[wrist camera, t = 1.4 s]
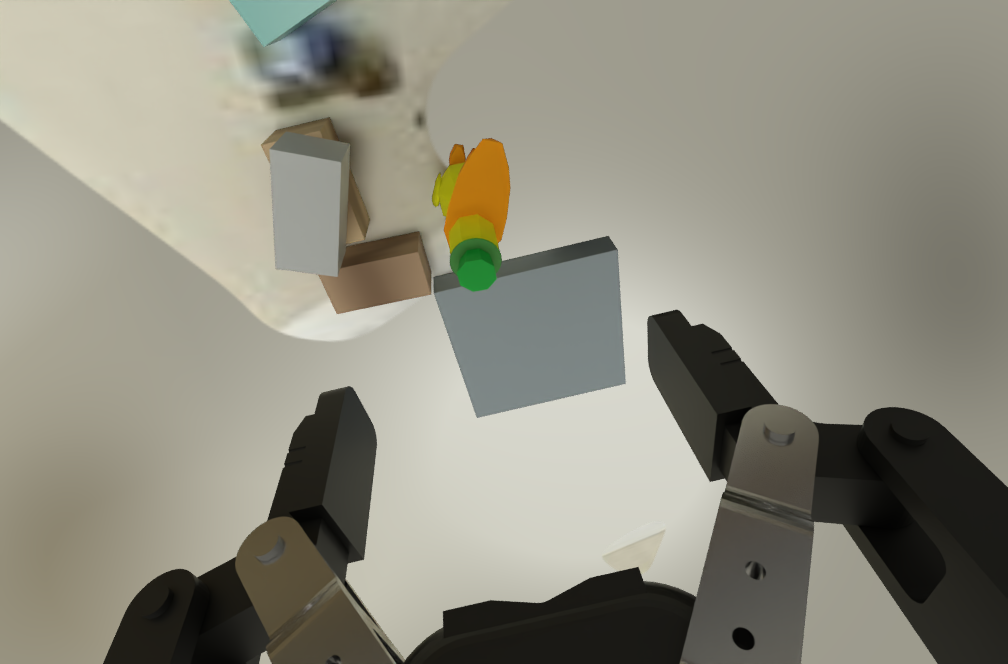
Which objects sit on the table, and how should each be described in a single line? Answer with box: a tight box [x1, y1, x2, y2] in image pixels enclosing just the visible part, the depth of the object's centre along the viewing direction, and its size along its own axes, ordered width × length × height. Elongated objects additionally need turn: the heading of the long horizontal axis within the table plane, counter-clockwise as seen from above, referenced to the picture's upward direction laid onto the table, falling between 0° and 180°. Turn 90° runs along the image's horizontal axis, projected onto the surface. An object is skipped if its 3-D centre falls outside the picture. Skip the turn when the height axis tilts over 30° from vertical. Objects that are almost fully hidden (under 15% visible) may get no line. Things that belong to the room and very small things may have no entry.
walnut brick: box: [318, 231, 431, 314], centre depth 30 cm, size 6×3×3 cm, turn 99°
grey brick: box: [269, 131, 350, 277], centre depth 24 cm, size 6×3×3 cm, turn 167°
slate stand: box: [434, 236, 625, 418], centre depth 35 cm, size 12×12×2 cm
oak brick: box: [261, 117, 370, 244], centre depth 27 cm, size 6×3×3 cm, turn 11°
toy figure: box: [432, 138, 510, 292], centre depth 23 cm, size 7×4×12 cm, turn 166°
